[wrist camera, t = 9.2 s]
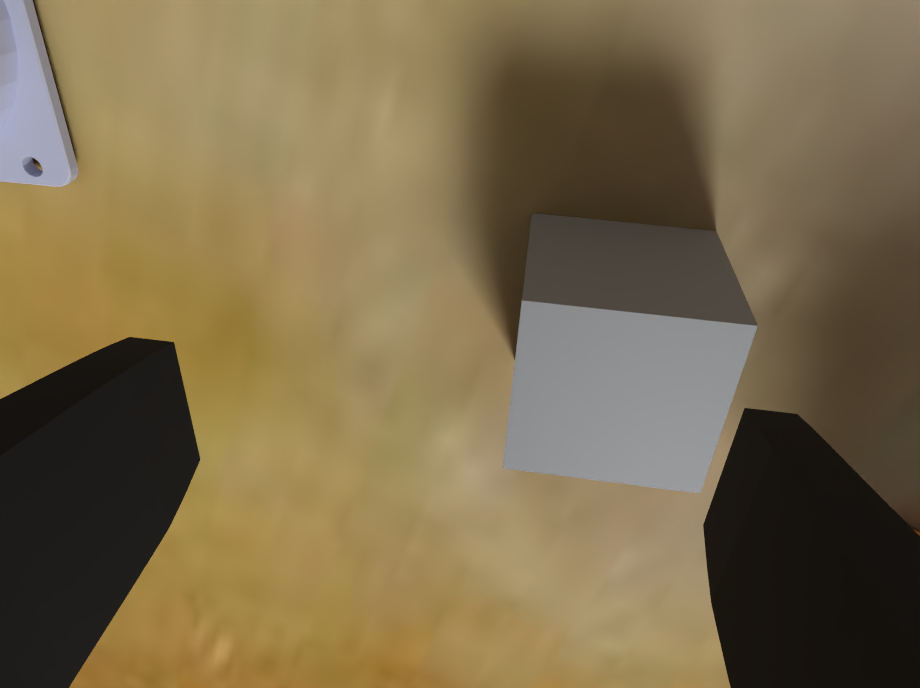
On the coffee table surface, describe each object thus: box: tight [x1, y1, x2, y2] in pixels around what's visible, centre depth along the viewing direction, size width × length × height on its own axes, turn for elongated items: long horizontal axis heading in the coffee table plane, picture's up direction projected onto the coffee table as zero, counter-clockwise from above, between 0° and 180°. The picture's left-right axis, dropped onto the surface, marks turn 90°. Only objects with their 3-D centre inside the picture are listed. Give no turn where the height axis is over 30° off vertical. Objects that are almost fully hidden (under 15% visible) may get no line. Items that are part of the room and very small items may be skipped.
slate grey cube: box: [503, 213, 758, 494], centre depth 16 cm, size 4×4×4 cm
